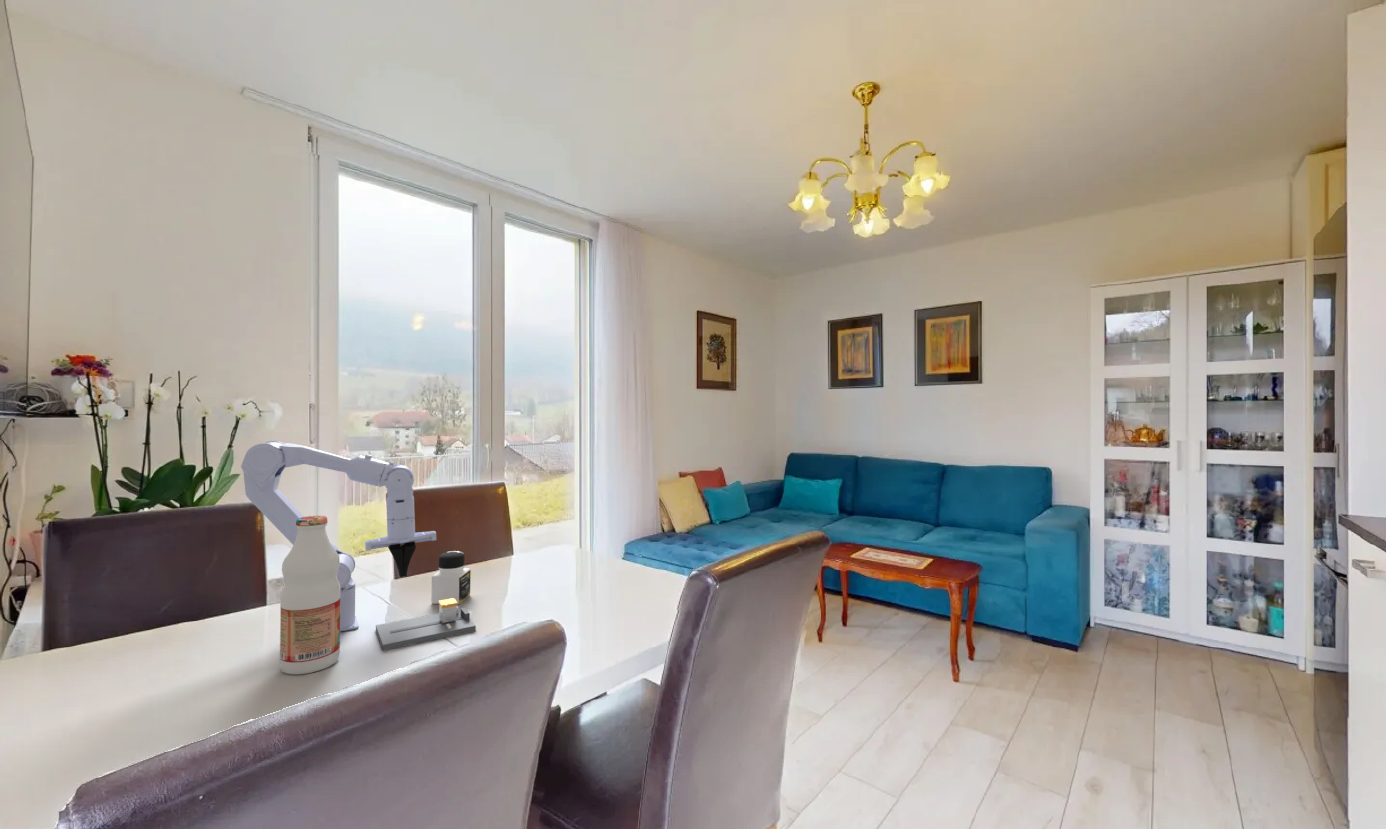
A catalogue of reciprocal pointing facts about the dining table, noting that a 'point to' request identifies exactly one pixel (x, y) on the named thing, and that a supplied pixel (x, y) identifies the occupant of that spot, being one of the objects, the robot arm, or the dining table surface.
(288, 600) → the fruit juice
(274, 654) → the dining table surface
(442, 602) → the fader tab
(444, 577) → the medicine bottle
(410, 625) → the console board
